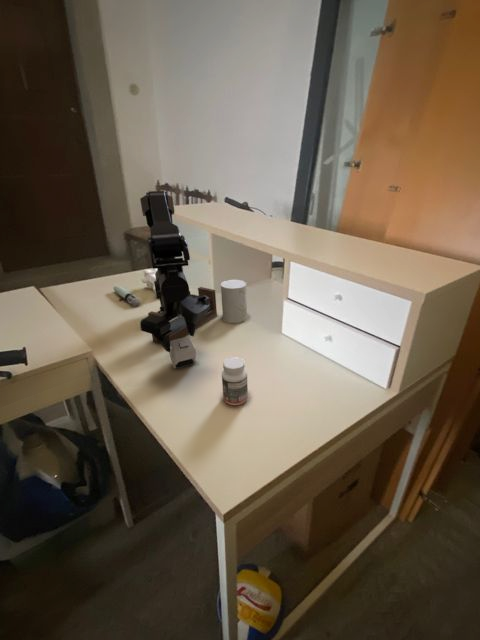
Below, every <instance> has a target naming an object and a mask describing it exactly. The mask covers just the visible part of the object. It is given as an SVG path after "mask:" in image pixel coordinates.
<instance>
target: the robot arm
mask: <svg viewBox="0 0 480 640" xmlns="http://www.w3.org/2000/svg"><path fill="white" fill-rule="evenodd" d="M145 193H146V194H145V195H144V196H142V197H140V198H139V199H140V206H141V207H140V208H141V214H142V217H145V220H146V225H147V226H148V227H149V232H150V237H147V241H148V247H149V253H150V260H151V265H152V268H153V269H157V272H156V274H155V276H156V281H154V284H155V290H156V292H155V297H156V299H157V300H159V302H160V306H159V310H158V312H157V313H160V312H161V311H162V312H164V313H165V315H163V316H158V315H154V314H152V315H150V316H148V315H147V316H146V317H144V318H142V319H141V320H140V321H139V327H140V331H141V332H144V333H147V334H150V335H152V334H153V335H154V336H155V337H156V339H157V340H158V341H159V342H160V344H159V345H161V347H162V348H163V349H164V350H165V352H168V353H169V352H170V348H171V346H170V341H169V334H170V333H171V332H172V330H170V327H171V324H170V321H172V320H174V319H176V318H178V317H179V316H183V317H184V319H185V322H186V326H187V329H188V332H189V334H188V335H189V337H195V333H196V330H197V329H196V325H197V323H198V322H199V321H200V320H202V319H204V318H205V316H206V312H207V311H209V310H210V301H209V297H207V296H206V295H203V296H202V297H201V296H199V295H197V294H192V293H191V291H190V286H189V283H188V281H187V277H186V275H185V273H184V267H187V266H188V267H189V261H190V260H191V257H190V256H191V255H190V252H189V245H188V240H187V239H186V238H185V236H184V235H183V234H181V231H180V228H179V226H178V225H177V224H174V223H173V215H175V205H174V198H173V196H171V195H170V194H168V191H165V190H151V191H150V190H149V191H148V192H145ZM195 329H196V330H195Z"/></svg>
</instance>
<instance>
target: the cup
mask: <svg viewBox="0 0 480 640" xmlns="http://www.w3.org/2000/svg"><path fill="white" fill-rule="evenodd" d="M220 295H221V308H222V309H221V310H222V320H223V321H224V322H225V323H230V324H239V323H244V322H245V321H247V319H248V306H247V304H248V302H247V301H248V300H247V299H248V298H247V282H246V281H245V280H241V279H228V280H223V281H222V282H221V283H220Z"/></svg>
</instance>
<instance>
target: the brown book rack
mask: <svg viewBox="0 0 480 640" xmlns="http://www.w3.org/2000/svg"><path fill="white" fill-rule="evenodd" d="M197 292H198V293H197V294H198V296H201V297H202V296H203V295H206V296H207V297H209V301H210V310H209V311H207V312H206V316H205V318H204V319H202V320H200V321H199V322H198V323H197V325H196V329H195V331H196V330H198V329H199V328H201V327H202V326H205V325H206V324H208V323H209V322H210V321H212V320H213V319H216V318H217V317H218V311H217V310H218V309H217V298H216V290H215V289H212V288H207V287H204V286H199V287H197ZM152 314H154V315H158V316H163V314H160V313H159V312H156V311H153V310H152V311H149V312H148V313H147V317H148V316H150V315H152ZM170 324H171V327H170V330H172V332H171V333H170V334H169V341H170V342H171V341H172V340H175V339H180V338H184V337H188V335H190V334H189V332H188V329H187V326H186V322H185V319H184V317H183V316H179V317H178V318H176V319H174V320H172V321H170ZM151 338H152V342H153V343H154V344H158V345H161V344H160V342H159V341H158V340H157V339H156V337H155V336H154V335H153V334H151ZM170 347H171V345H170Z"/></svg>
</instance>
